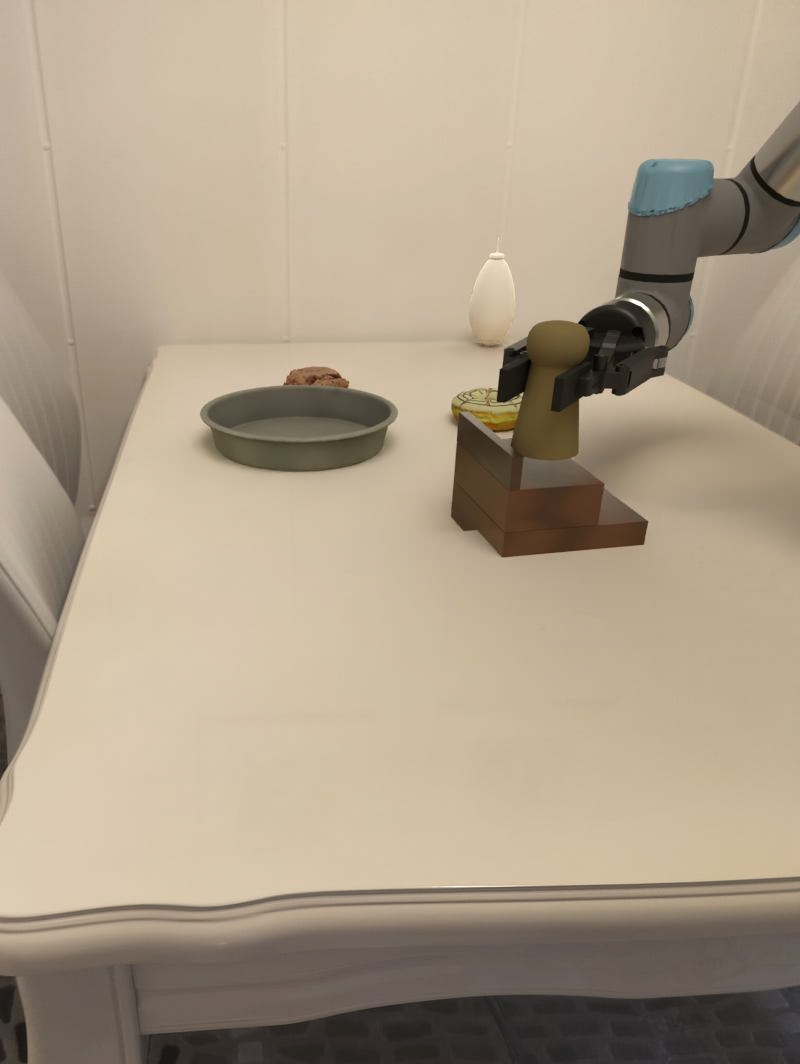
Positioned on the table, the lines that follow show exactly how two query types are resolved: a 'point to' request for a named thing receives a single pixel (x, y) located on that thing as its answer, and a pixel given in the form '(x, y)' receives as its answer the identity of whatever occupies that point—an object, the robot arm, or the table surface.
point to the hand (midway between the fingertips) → (529, 390)
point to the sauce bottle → (492, 301)
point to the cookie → (316, 377)
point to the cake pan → (299, 426)
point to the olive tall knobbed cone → (549, 392)
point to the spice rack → (534, 499)
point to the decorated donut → (487, 408)
